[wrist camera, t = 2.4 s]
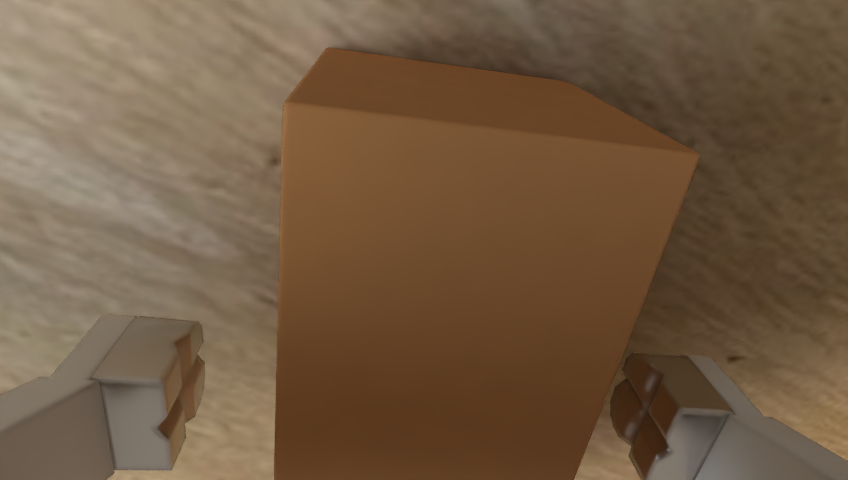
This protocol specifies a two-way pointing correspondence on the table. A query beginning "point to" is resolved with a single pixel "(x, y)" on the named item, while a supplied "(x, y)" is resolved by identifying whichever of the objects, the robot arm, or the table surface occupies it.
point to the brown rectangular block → (458, 268)
